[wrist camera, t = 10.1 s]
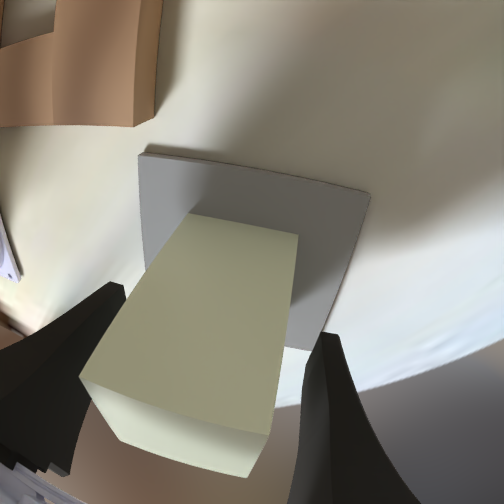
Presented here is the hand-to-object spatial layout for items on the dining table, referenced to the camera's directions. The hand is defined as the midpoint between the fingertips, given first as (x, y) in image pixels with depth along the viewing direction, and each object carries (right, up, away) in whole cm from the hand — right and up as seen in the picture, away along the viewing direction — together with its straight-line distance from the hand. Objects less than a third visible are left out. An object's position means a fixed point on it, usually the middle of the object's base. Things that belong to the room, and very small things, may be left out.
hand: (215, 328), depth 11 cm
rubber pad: (+1, +2, +3) cm, 4 cm away
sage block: (+1, +2, +3) cm, 4 cm away
